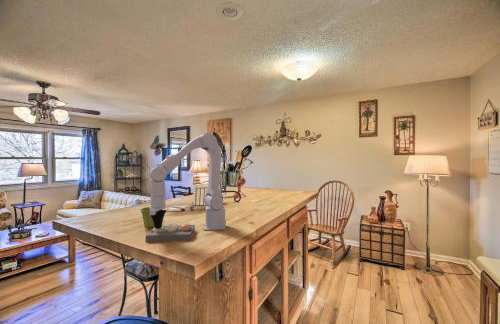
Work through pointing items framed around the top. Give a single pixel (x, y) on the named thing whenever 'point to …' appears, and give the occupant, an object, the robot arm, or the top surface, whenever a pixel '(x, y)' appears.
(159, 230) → the button sage
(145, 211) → the plant pot
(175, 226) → the button ivory
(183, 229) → the button terracotta
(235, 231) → the top surface
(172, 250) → the top surface
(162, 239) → the button box
